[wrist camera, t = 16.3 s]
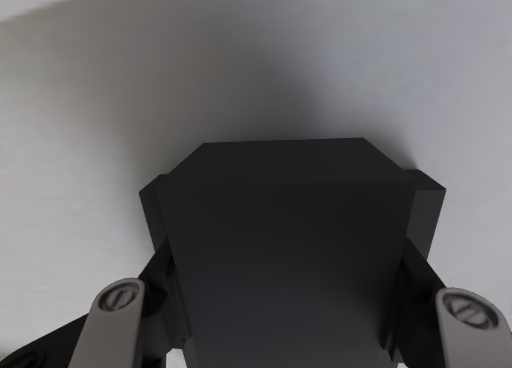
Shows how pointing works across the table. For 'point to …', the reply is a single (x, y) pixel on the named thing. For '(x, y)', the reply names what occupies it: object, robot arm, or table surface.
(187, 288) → the black rectangular block
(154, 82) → the table surface
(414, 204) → the socket pad
